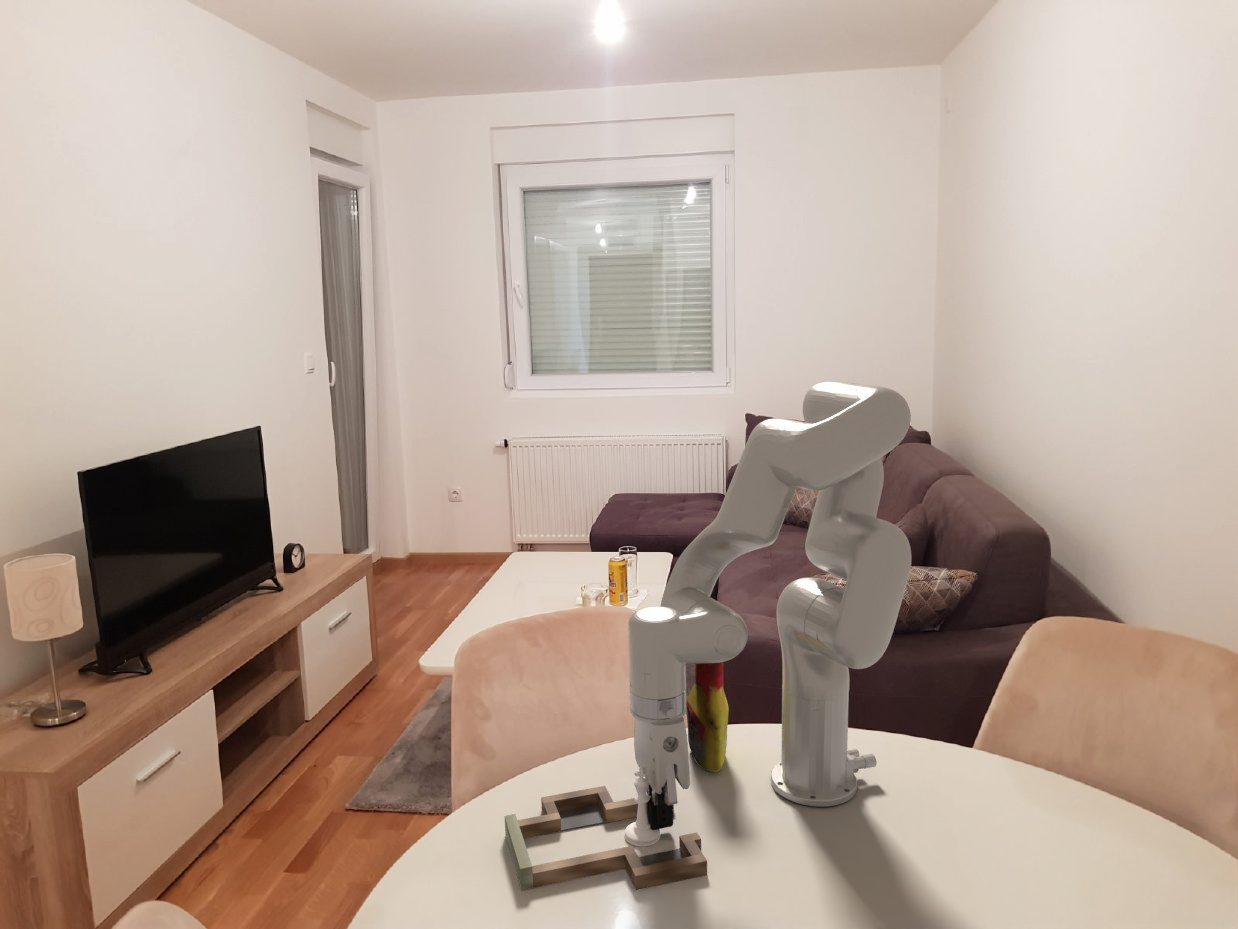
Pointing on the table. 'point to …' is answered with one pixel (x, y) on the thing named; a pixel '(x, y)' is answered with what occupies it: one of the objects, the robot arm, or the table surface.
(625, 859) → the trap lane
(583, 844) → the table surface
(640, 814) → the chess piece
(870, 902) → the table surface
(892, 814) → the table surface
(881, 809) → the table surface
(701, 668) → the bottle
